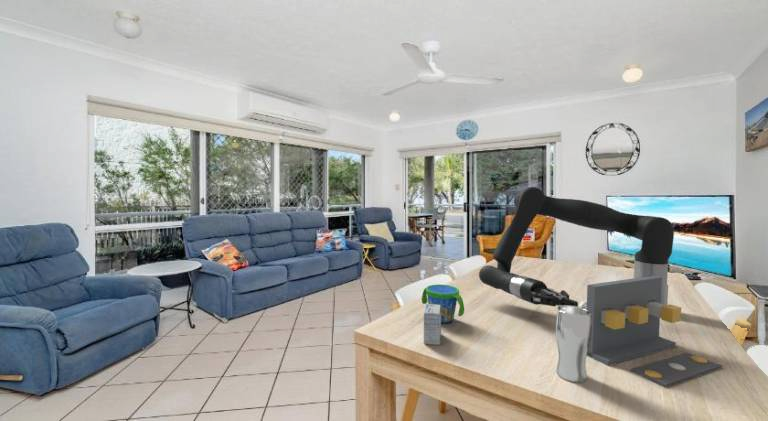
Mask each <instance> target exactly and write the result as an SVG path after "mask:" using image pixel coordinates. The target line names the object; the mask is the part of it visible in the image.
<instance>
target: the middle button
mask: <svg viewBox="0 0 768 421" xmlns="http://www.w3.org/2000/svg"><path fill="white" fill-rule="evenodd" d="M624 313H625V318H626V319H628V321H630V322H633V323H636V324H643V323H647V322H648V308H645V307H641V306H633V305H625V310H624Z"/></svg>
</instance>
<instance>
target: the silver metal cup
mask: <svg viewBox="0 0 768 421" xmlns="http://www.w3.org/2000/svg"><path fill="white" fill-rule="evenodd" d="M556 309H557V310H556V316H555V317H556V318H555V337H556V343H557V350H558V362H557V366H556V371H555V372H556V374H557V375H558V377H560V378H561V379H563V380H565V381H568V382H571V383H577V384H578V383H579V384H580V383H585V382H587V380H588V374H587V367H586V366H587V365H586V364H587V363H586V361H587V357H588V356H587V353H588V349H589V345H590V341H591V332H592V325H591V312H590V311H589V310H587V309H584V308H581V307H577V306H571V305H562V306H557V308H556Z"/></svg>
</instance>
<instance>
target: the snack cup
mask: <svg viewBox="0 0 768 421" xmlns="http://www.w3.org/2000/svg"><path fill="white" fill-rule="evenodd" d="M422 291H423V292H422V295H421V303H422V304H423V305H425V304H436V305H441V324H449V323H452V322H453V320H454V318H455V313H456V309H457V308H456V307H457V303H458V305H459V310H458V313H457V314H458V315H457V316H458V317H462V316H463V315H464V313H465V305H464V304H465V303H464V300H463V298H462V296H461V294H460V290H459V288H458V287H456V286H453V285H449V284H430V285H428V286H426V287H425V288H424V289H423V290H422Z"/></svg>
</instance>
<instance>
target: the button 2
mask: <svg viewBox="0 0 768 421" xmlns="http://www.w3.org/2000/svg"><path fill="white" fill-rule="evenodd" d="M646 308H648V314H649V315H653V316H656V317H659V318H660V321H664V322H668V323H670V324H674V323H678V322H681V321H682V318H681V317H682V306H677V305H673V304H667V305H665V304H661V303H658V302H654V301H647V302H646Z"/></svg>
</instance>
